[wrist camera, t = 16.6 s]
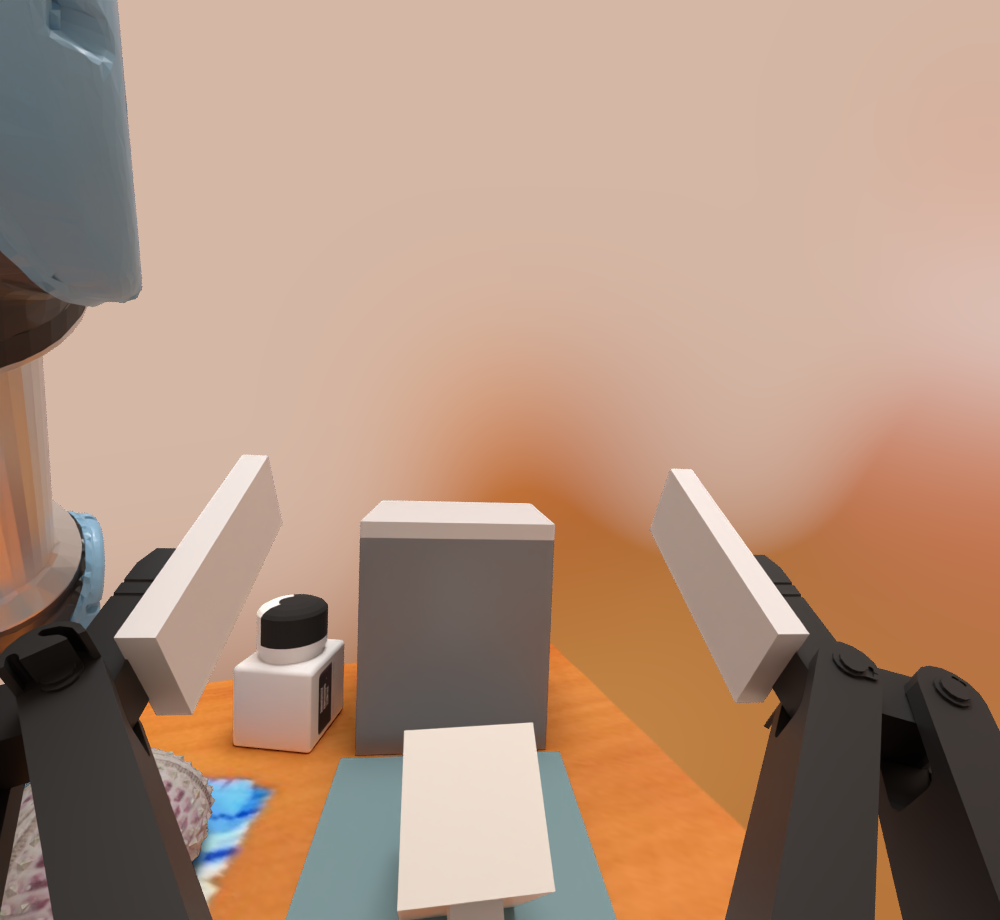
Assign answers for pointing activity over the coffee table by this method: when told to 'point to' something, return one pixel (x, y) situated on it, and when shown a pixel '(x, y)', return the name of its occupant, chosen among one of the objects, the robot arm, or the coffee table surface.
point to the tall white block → (471, 823)
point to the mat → (376, 844)
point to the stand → (452, 619)
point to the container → (289, 677)
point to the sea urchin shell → (26, 881)
